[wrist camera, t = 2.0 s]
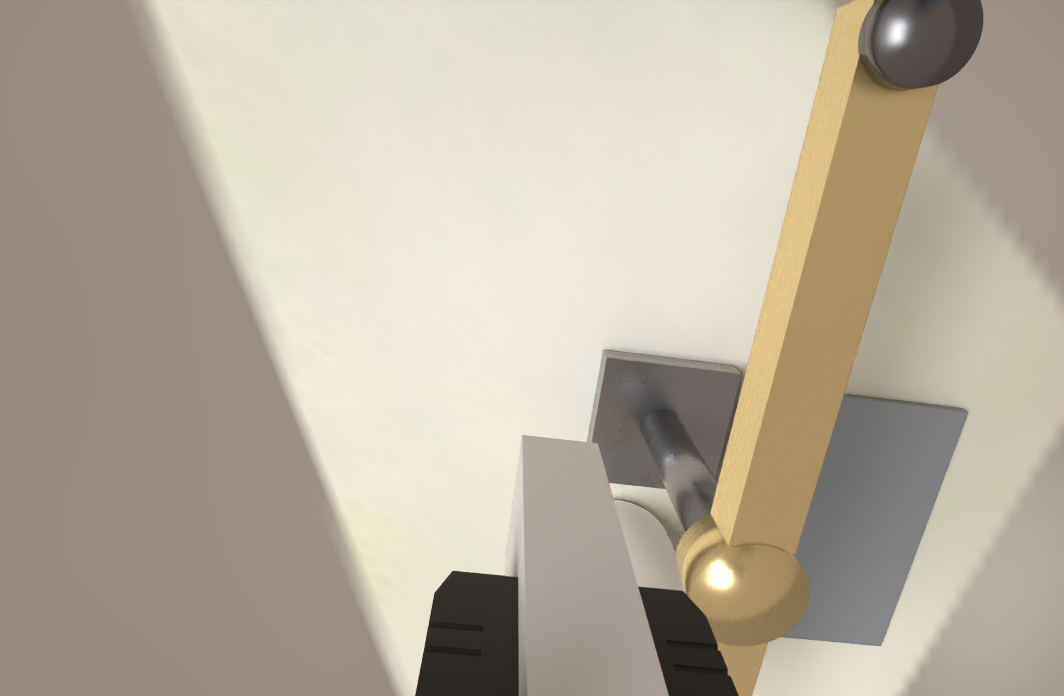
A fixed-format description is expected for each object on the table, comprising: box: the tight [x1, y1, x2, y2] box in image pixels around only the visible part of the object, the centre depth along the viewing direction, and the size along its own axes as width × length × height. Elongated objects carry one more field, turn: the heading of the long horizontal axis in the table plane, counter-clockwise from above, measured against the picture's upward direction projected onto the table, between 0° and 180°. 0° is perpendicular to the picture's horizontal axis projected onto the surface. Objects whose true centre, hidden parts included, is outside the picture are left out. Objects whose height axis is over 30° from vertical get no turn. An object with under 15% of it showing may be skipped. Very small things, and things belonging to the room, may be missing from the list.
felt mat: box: [780, 394, 968, 646], centre depth 41 cm, size 18×14×1 cm
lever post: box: [587, 350, 741, 532], centre depth 32 cm, size 8×8×14 cm
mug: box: [614, 500, 683, 591], centre depth 37 cm, size 12×8×10 cm
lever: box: [675, 0, 983, 696], centre depth 23 cm, size 38×4×3 cm, turn 172°
